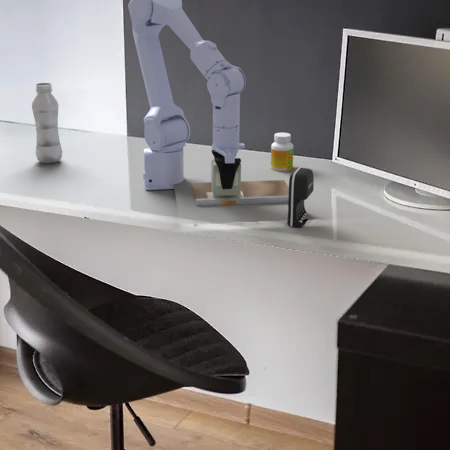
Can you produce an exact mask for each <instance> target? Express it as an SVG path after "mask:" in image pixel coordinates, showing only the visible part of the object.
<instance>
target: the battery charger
mask: <svg viewBox="0 0 450 450" xmlns="http://www.w3.org/2000/svg"><path fill="white" fill-rule="evenodd" d="M288 179H289V180H288V187H289V198H288V203H287V205H288V206H287V209H288V210H287V212H288V213H287V226H288V227H292V228H293V227H294V228H296V227H297V228H301V227H303V226H304V225H305V224H306V223H307V221H309V218H305V217H306V216H305V215H307V214H308V212H307V211H306V207H305V200H307V199H308V198H309V197H310V196H311V195H312V193H313V191H314V188H315V187H314V182H315V181H314V172H313V170H312V169H311V168H307V167H301V166H297V167H295V168H294V170H292V172H291V173H290V175H289V178H288Z"/></svg>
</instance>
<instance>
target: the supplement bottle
mask: <svg viewBox="0 0 450 450" xmlns="http://www.w3.org/2000/svg"><path fill="white" fill-rule="evenodd" d="M273 139H274V142H273V143H271V147H270V169H271V170H272V171H274V172H279V173H280V172H281V173H285V172H290V171H293V169H294V167H293V165H294V144H293V143H292V142H291V140H292V135H291V133H288V132H276V133H274V137H273Z"/></svg>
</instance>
